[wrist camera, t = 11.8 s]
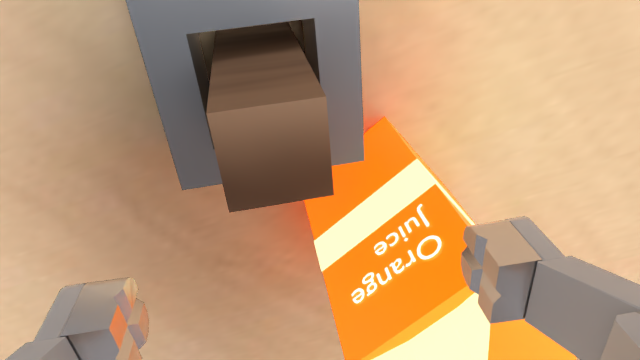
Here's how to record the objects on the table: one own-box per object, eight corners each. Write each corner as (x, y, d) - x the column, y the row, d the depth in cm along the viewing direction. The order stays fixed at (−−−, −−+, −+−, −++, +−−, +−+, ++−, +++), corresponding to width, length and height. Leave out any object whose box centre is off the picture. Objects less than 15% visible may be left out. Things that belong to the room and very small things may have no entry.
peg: (216, 30, 25) (206, 113, 15) (287, 21, 25) (326, 96, 15) (229, 98, 27) (229, 212, 17) (295, 89, 27) (334, 195, 17)
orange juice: (385, 114, 29) (600, 393, 12) (453, 192, 33) (680, 478, 17) (297, 188, 31) (379, 522, 14) (372, 253, 35) (503, 568, 18)
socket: (334, -47, 24) (357, -38, 19) (344, 124, 29) (364, 160, 25) (142, -26, 23) (122, -11, 18) (189, 148, 28) (182, 190, 24)
